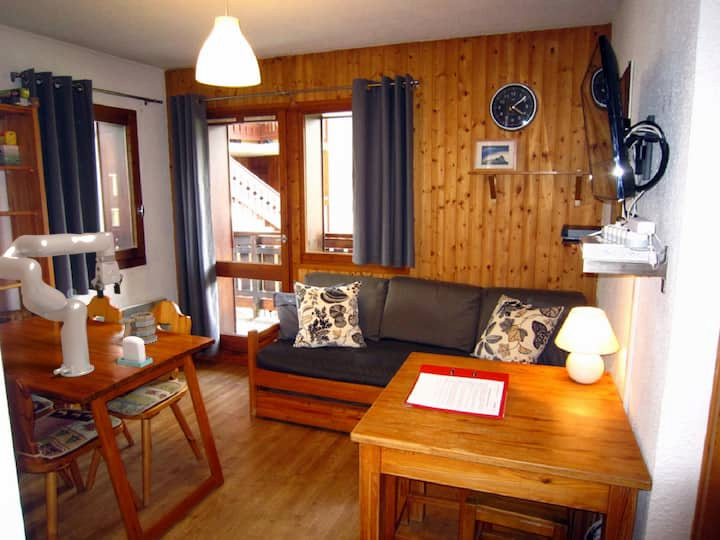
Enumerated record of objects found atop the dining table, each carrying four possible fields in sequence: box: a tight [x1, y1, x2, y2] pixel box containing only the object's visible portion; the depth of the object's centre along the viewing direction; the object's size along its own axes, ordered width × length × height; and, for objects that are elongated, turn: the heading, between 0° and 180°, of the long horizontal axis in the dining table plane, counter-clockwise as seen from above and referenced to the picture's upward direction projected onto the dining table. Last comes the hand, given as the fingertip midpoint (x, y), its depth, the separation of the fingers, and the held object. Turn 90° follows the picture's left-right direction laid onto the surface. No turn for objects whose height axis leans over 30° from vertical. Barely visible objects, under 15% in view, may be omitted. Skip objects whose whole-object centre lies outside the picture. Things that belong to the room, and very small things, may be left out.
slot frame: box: [117, 356, 153, 369], centre depth 228 cm, size 7×13×2 cm, turn 70°
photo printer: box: [121, 335, 147, 363], centre depth 227 cm, size 10×4×12 cm, turn 68°
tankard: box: [117, 311, 159, 345], centre depth 255 cm, size 20×13×15 cm, turn 152°
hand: (109, 296), depth 234 cm, fingers open, 9 cm apart
